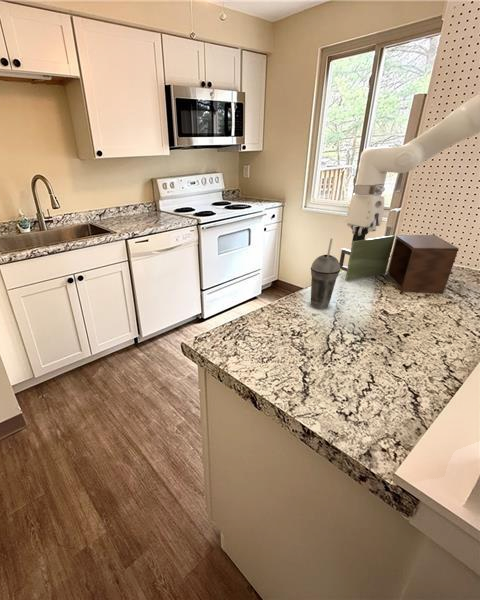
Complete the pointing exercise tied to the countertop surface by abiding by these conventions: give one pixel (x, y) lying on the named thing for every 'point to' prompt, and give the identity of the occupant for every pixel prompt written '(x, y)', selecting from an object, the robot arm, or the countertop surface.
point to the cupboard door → (367, 257)
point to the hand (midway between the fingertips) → (357, 245)
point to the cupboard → (421, 263)
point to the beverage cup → (323, 279)
